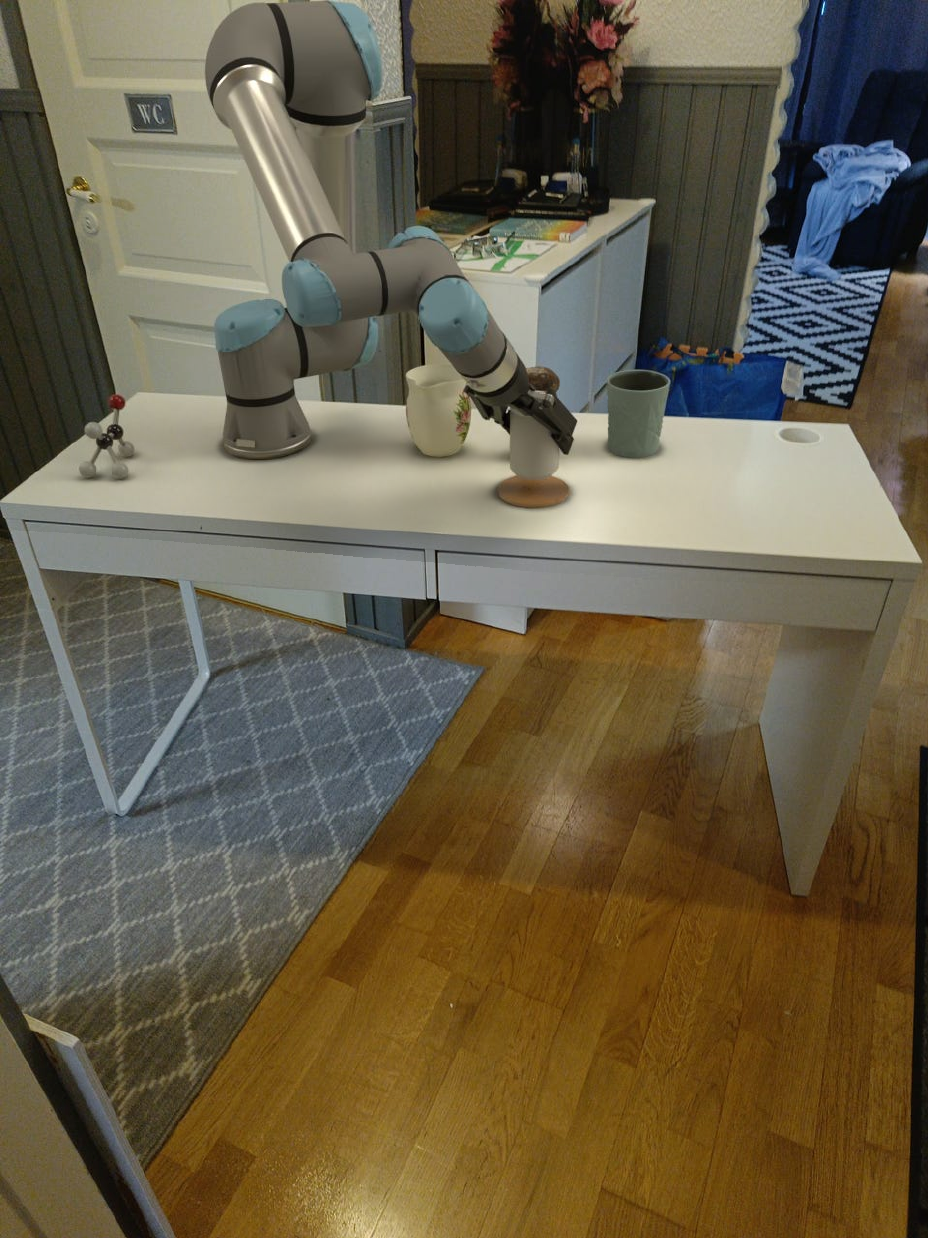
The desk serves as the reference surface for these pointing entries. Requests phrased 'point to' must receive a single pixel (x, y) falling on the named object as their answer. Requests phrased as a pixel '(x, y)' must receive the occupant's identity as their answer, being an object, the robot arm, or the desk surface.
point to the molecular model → (108, 442)
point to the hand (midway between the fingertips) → (544, 441)
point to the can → (531, 448)
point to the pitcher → (437, 409)
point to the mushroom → (543, 378)
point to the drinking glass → (636, 411)
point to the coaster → (533, 491)
